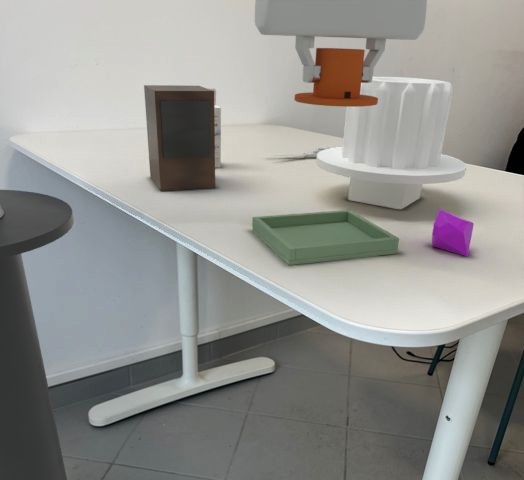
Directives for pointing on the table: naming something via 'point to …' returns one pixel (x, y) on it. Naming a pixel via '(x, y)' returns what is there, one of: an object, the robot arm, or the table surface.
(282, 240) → the tray
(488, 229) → the table surface
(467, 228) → the crystal
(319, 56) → the hat
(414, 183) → the flanged gear
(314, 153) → the scissors
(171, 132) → the cabinet
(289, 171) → the table surface
